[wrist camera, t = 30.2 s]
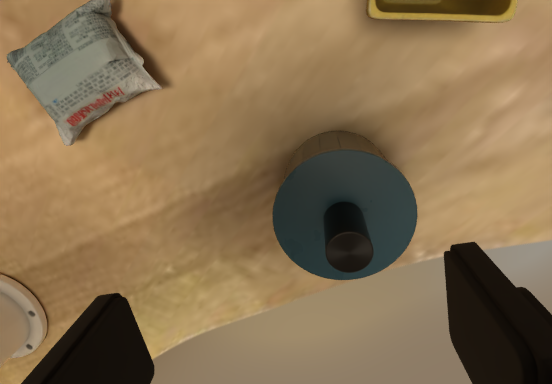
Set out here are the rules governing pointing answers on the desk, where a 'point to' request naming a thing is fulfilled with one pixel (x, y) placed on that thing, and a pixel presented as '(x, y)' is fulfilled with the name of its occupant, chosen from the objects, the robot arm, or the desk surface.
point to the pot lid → (344, 214)
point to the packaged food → (81, 68)
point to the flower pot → (443, 10)
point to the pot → (330, 146)
